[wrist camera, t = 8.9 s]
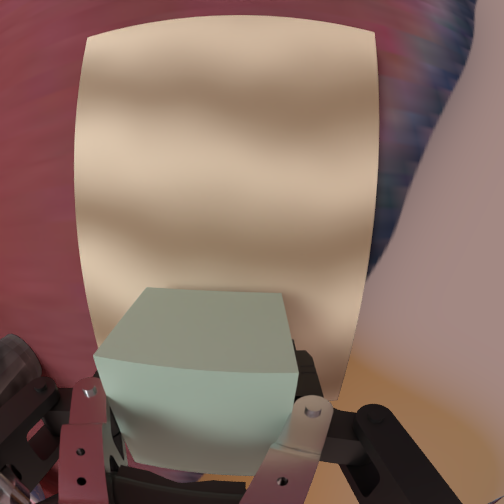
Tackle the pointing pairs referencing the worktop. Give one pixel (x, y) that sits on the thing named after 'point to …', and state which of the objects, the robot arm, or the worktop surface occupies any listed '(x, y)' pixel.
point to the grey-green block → (200, 378)
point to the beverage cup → (16, 366)
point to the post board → (231, 169)
